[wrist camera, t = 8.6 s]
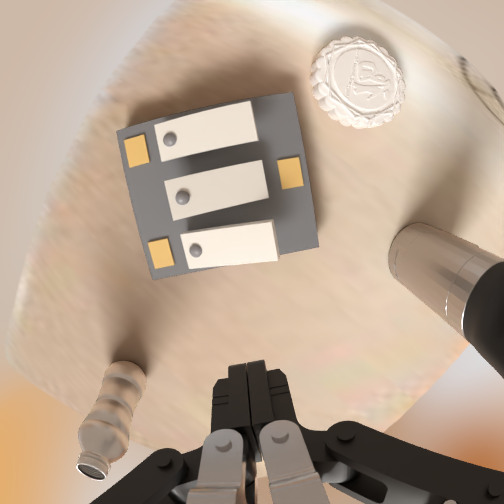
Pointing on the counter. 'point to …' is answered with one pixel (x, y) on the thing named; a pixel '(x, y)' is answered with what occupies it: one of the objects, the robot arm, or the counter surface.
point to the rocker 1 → (206, 131)
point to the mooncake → (357, 82)
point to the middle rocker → (216, 189)
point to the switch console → (266, 149)
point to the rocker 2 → (231, 244)
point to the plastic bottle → (110, 420)
